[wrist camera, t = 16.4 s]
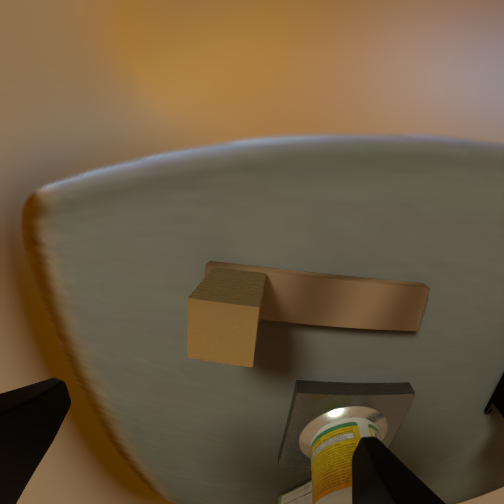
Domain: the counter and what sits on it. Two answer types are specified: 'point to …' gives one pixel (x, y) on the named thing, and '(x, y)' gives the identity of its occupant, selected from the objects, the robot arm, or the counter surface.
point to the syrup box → (298, 495)
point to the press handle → (226, 316)
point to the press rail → (337, 299)
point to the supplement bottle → (337, 459)
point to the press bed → (340, 413)
